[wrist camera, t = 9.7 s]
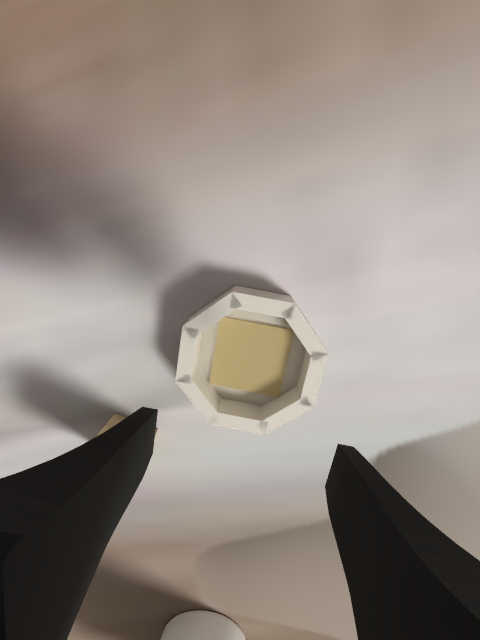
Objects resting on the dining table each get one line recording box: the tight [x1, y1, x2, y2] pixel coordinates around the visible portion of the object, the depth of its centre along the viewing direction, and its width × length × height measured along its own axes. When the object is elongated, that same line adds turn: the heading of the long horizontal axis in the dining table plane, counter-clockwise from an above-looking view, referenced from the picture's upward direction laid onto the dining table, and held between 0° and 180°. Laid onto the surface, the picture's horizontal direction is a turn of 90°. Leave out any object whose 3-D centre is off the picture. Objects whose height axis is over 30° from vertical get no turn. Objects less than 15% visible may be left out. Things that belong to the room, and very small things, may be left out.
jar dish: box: [175, 286, 329, 435], centre depth 21 cm, size 9×9×2 cm
